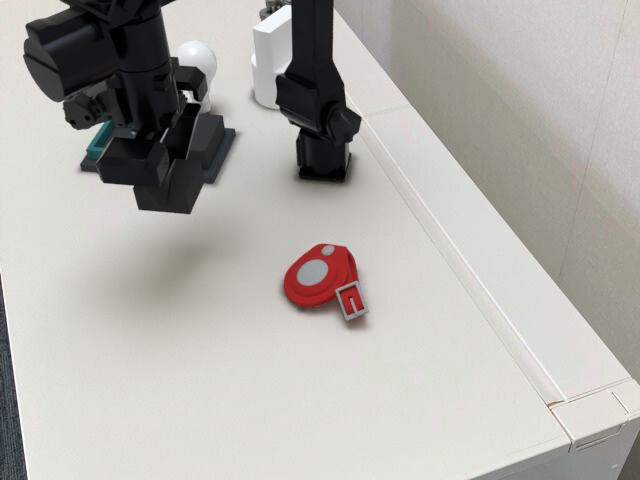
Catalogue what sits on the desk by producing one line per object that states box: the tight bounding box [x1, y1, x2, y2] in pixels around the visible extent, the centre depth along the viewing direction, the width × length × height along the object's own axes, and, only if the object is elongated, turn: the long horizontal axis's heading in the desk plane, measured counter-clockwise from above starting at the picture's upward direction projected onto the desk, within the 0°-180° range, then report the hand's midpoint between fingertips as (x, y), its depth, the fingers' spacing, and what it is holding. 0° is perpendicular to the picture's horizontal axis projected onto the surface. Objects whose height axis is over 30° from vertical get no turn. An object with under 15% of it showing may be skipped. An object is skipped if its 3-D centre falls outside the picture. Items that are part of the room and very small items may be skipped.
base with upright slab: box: [250, 5, 292, 111], centre depth 116 cm, size 9×9×12 cm
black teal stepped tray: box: [79, 113, 237, 184], centre depth 109 cm, size 19×12×4 cm, turn 81°
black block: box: [132, 159, 205, 215], centre depth 87 cm, size 6×6×3 cm
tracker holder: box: [283, 243, 370, 321], centre depth 90 cm, size 12×4×10 cm
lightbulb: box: [172, 39, 218, 114], centre depth 113 cm, size 6×6×11 cm
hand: (170, 188), depth 87 cm, fingers closed on black block, 6 cm apart
